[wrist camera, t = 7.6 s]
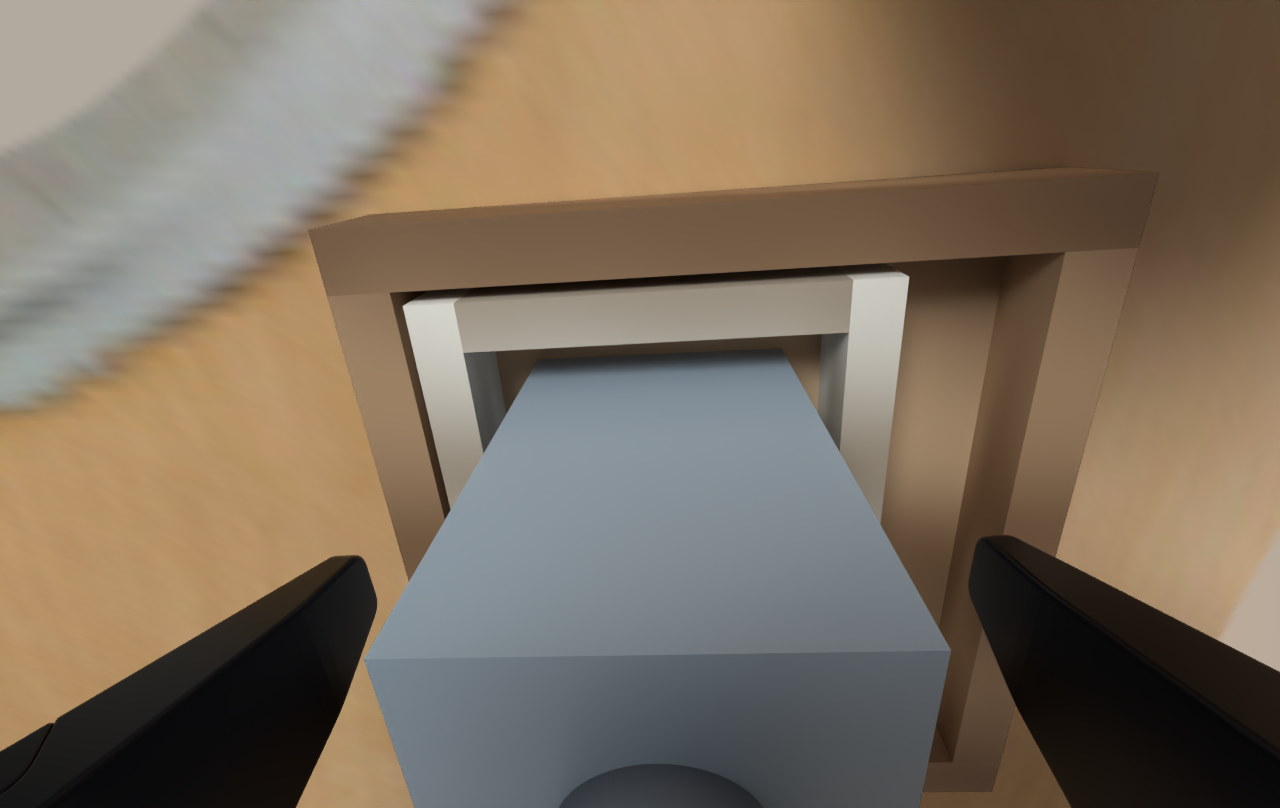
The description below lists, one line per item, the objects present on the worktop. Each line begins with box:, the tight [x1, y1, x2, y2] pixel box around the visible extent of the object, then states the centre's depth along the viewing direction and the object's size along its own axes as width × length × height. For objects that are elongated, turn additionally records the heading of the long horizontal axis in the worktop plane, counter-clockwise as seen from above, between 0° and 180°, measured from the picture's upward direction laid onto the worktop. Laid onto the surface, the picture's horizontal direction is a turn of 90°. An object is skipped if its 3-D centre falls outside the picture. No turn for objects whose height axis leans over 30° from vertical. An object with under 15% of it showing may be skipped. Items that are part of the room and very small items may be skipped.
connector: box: [364, 348, 951, 808], centre depth 8 cm, size 4×4×8 cm
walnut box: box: [308, 167, 1159, 792], centre depth 12 cm, size 13×12×2 cm
